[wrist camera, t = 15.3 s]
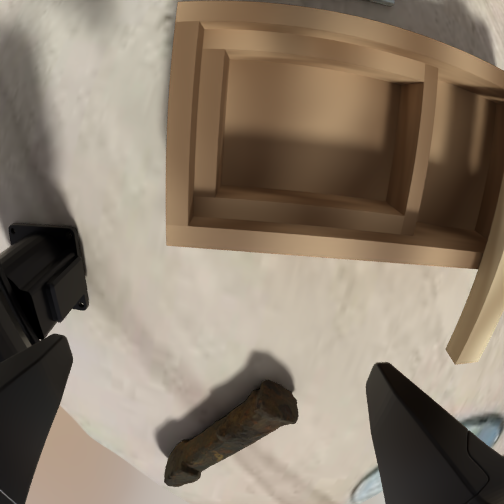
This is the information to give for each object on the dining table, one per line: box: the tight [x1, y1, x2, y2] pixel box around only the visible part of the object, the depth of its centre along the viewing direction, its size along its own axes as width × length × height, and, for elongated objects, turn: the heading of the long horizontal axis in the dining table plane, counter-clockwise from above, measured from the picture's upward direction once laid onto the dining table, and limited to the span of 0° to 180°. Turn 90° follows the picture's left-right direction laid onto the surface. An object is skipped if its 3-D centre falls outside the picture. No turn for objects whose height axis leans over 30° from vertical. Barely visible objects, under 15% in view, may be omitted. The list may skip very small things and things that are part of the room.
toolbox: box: [166, 1, 504, 269], centre depth 15 cm, size 20×11×5 cm, turn 86°
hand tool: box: [164, 380, 298, 487], centre depth 26 cm, size 19×4×5 cm, turn 138°
